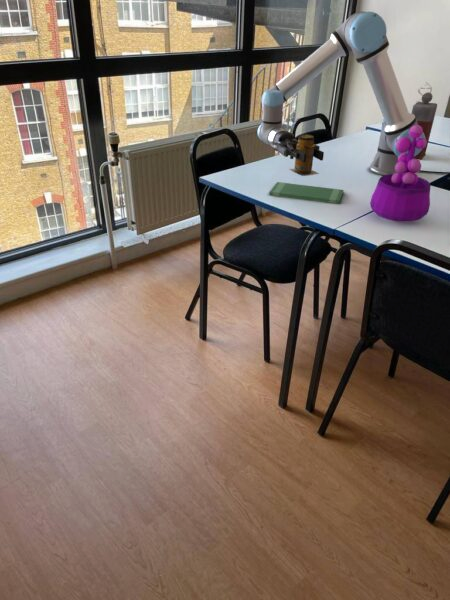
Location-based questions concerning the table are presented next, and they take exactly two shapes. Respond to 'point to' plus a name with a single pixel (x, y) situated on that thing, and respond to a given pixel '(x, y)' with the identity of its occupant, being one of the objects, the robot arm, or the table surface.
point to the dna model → (424, 88)
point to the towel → (307, 192)
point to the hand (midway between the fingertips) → (313, 157)
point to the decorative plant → (403, 184)
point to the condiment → (306, 147)
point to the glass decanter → (424, 118)
